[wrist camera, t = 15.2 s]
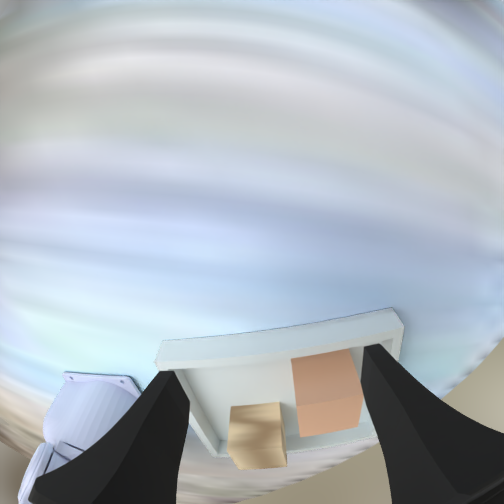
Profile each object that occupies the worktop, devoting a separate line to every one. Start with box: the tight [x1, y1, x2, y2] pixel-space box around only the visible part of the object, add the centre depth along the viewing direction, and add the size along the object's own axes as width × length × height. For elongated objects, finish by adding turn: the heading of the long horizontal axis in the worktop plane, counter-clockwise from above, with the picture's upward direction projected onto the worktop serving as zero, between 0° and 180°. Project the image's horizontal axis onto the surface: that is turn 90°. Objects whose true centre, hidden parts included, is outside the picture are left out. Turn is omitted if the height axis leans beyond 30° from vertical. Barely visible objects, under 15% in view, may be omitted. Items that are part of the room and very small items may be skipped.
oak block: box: [227, 402, 287, 470], centre depth 22 cm, size 4×4×5 cm
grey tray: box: [154, 307, 404, 458], centre depth 22 cm, size 18×16×2 cm
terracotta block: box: [291, 348, 364, 437], centre depth 19 cm, size 4×4×5 cm
